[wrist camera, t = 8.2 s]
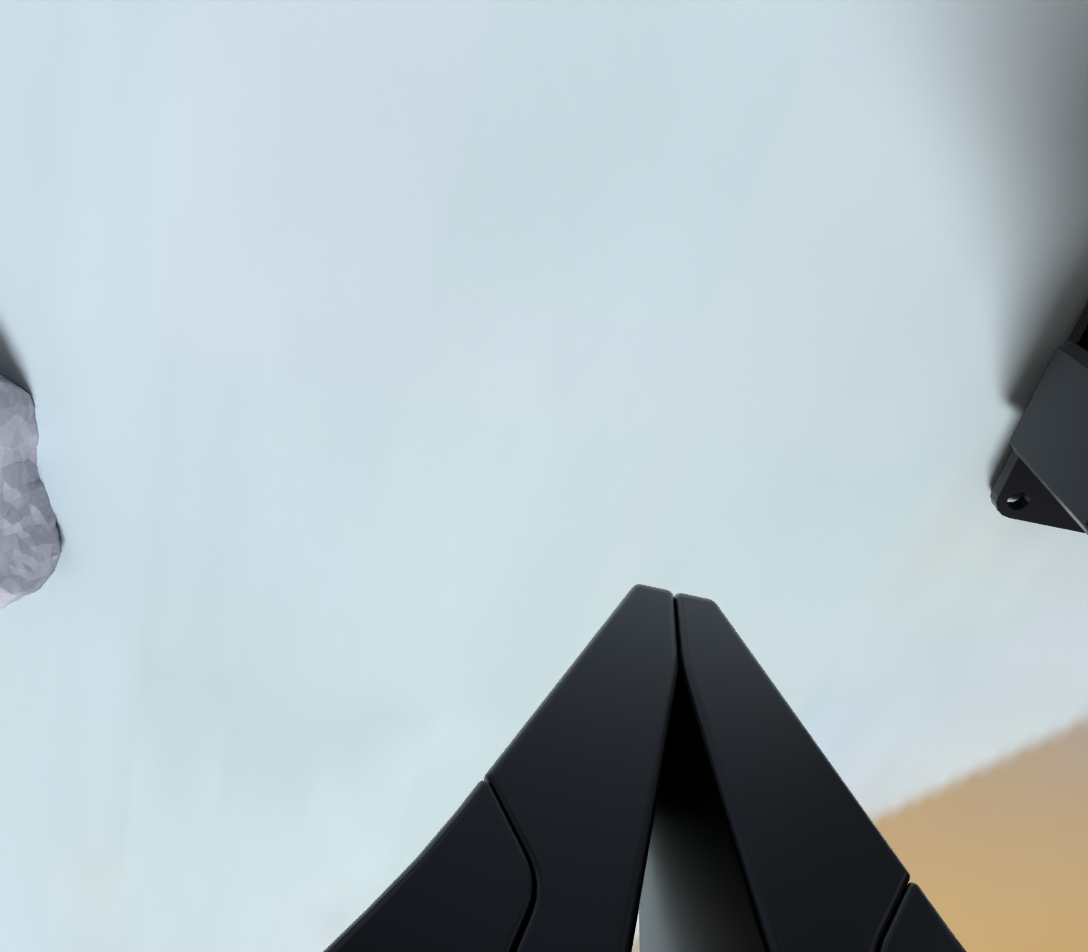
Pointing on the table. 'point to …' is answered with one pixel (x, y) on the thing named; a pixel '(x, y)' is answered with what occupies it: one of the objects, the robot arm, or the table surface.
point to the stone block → (22, 501)
